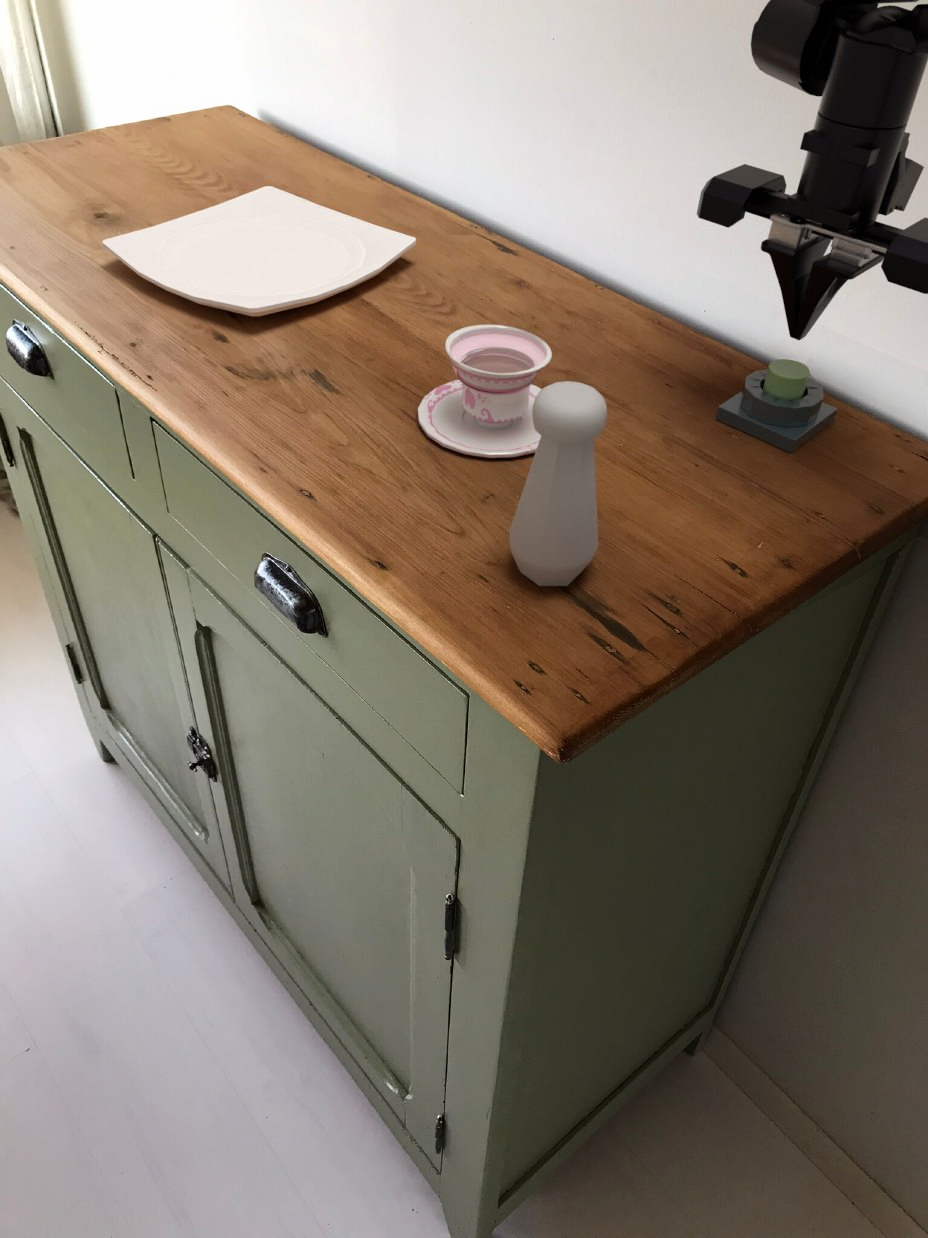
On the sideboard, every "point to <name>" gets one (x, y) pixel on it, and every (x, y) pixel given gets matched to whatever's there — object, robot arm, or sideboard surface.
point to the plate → (260, 253)
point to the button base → (777, 413)
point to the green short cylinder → (786, 379)
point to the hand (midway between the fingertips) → (797, 337)
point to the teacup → (487, 393)
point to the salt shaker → (560, 487)
